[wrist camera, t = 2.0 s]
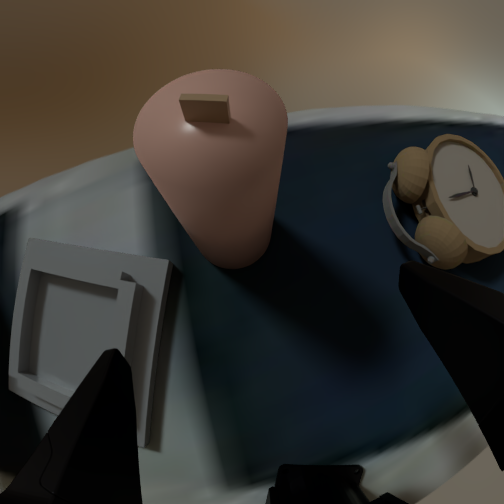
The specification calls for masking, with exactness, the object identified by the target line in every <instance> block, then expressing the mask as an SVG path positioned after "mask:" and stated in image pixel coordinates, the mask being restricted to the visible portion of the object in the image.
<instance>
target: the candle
mask: <svg viewBox="0 0 504 504" xmlns="http://www.w3.org/2000/svg"><path fill="white" fill-rule="evenodd" d="M287 123H288V118H287V112H286V109H285V106H284V103H283V101H282V100H281V98H280V96H279V95H278V94H277V93H276V91H275V90H274V89H273V88H272V87H271V86H270V85H268V84H267V83H265V82H264V81H263V80H261V79H259V78H257V77H255V76H253V75H250V74H247V73H244V72H241V71H235V70H228V69H211V70H203V71H198V72H194V73H191V74H188V75H185V76H182V77H179V78H177V79H176V80H173V81H172V82H170V83H168V84H167V85H165V86H163V87H162V88H161V89H160V90H158V91H157V92H156V93H155V94H154V95H153V96H152V97H151V98H150V99H149V100H148V101H147V103H146V104H145V105H144V106H143V108H142V109H141V111H140V113H139V115H138V117H137V120H136V123H135V126H134V132H133V143H134V149H135V152H136V155H137V157H138V159H139V161H140V162H141V164H142V166H143V167H144V169H145V170H146V172H147V173H148V175H149V176H150V178H151V179H152V181H153V182H154V184H155V185H156V187H157V189H158V190H159V192H160V193H161V195H162V196H163V198H164V199H165V201H166V202H167V204H168V205H169V207H170V208H171V210H172V211H173V212H174V214H175V215H176V217H177V218H178V220H179V221H180V223H181V224H182V226H183V227H184V229H185V230H186V232H187V233H188V235H189V236H190V237H191V239H192V240H193V242H194V243H195V245H196V246H197V248H198V249H199V250H200V252H201V253H202V255H203V256H204V257H205V258H206V259H207V260H208V261H209V262H211V263H212V264H214V265H216V266H218V267H221V268H226V269H239V268H244V267H247V266H249V265H251V264H253V263H254V262H256V261H257V260H258V259H259V258H260V257H261V256H262V255H263V254H264V253H265V251H266V250H267V248H268V245H269V242H270V238H271V232H272V226H273V220H274V213H275V207H276V200H277V194H278V187H279V181H280V174H281V167H282V161H283V154H284V147H285V140H286V133H287Z"/></svg>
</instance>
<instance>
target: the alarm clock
mask: <svg viewBox="0 0 504 504" xmlns="http://www.w3.org/2000/svg"><path fill="white" fill-rule="evenodd" d="M388 167H389V169H391V176H390V180H389V181H388V183H387V185H386V186H385V189H384V192H383V206H384V212H385V215H386V218H387V221H388V223H389V225H390V227H391V229H392V230H393V232H394V233H395V235H396V236H397V237H398V239H399V240H401V241H402V242H403V243H404V244H405V245H406V246H408V247H409V248H411V249H413V250H415V251H417V252H419V254H420V255H421V256H422V258H423V259H424V260H425V261H426V262H427V263H429V264H430V265H432V266H433V267H436V268H438V269H444V270H446V269H453V268H455V267H457V266H458V265H459V264H461V263H466V264H468V263H473V262H477V261H480V260H482V259H484V258H486V257H489V256H491V255H493V254H497V253H500V252H501V251H502V250H503V249H504V179H503V177H502V175H501V174H500V172H499V170H498V169H497V167H496V166H495V164H494V163H493V162H492V161H491V159H490V158H489V157H488V156H487V155H486V153H485V152H483V151H482V150H481V149H480V148H479V147H477V146H476V145H475V144H474V143H473V142H471V141H469V140H467V139H465V138H463V137H461V136H457V135H451V134H445V135H442V136H439V137H436V138H435V139H434V141H433V142H432V143H431V144H430V145H429V146H428V148H427V149H426V150H424V149H422V148H419V147H409V148H406V149H404V150H402V151H401V152H400V153H399V154H398V155H397V157H396V158H395V160H394V163H392V162H391V163H389V164H388ZM391 187H392V188H393V191H394V193H395V195H396V196H397V197H398V198H399V199H400V200H402V201H403V202H406V203H410V204H412V206H413V209H414V213H415V216H416V218H417V219H418V221H419V224H418V226H417V229H416V233H415V240H414V239H413V238H411V237H410V236H409V235H408V234H407V233H406V231H405V230H404V228H403V227H402V225H401V224H400V222H399V220H398V218H397V216H396V214H395V211H394V208H393V205H392V199H391Z"/></svg>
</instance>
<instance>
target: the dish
mask: <svg viewBox="0 0 504 504" xmlns="http://www.w3.org/2000/svg"><path fill="white" fill-rule="evenodd" d="M172 267H173V263H172V262H170V261H169V260H165V259H158V258H151V257H145V256H138V255H132V254H125V253H119V252H112V251H106V250H100V249H94V248H88V247H81V246H75V245H69V244H63V243H57V242H51V241H46V240H40V239H34V238H29V239H28V243H27V247H26V251H25V255H24V259H23V263H22V268H21V273H20V278H19V283H18V288H17V294H16V300H15V307H14V314H13V322H12V331H11V342H10V356H9V390H11V391H12V392H14V393H16V394H18V395H19V396H21V397H23V398H25V399H27V400H29V401H30V402H32V403H34V404H36V405H38V406H40V407H42V408H44V409H46V410H48V411H50V412H52V413H54V414H56V415H59V414H60V412H61V411H62V409H63V408H64V406H65V405H66V403H67V402H68V401H69V399H70V398H71V396H72V395H73V393H74V392H75V391H76V389H77V388H78V386H79V385H80V383H81V382H82V381H83V379H84V378H85V376H86V375H87V374H88V372H89V371H90V369H91V368H92V367H93V365H94V364H95V363H96V361H97V360H98V358H99V357H100V356H101V354H102V353H103V352H104V351H105V350H107V349H112V348H117V349H118V350H119V351H120V352H121V354H122V355H123V356H124V358H125V359H126V360H127V362H128V363H129V365H130V367H131V370H132V380H133V389H134V398H135V406H136V417H137V444H138V446H140V447H145V446H146V445H147V444H148V443H149V441H150V428H151V416H152V406H153V396H154V387H155V378H156V370H157V362H158V354H159V347H160V340H161V333H162V326H163V320H164V313H165V307H166V301H167V295H168V289H169V284H170V278H171V273H172Z"/></svg>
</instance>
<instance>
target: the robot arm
mask: <svg viewBox="0 0 504 504" xmlns="http://www.w3.org/2000/svg"><path fill="white" fill-rule="evenodd" d="M399 290H400V292H401V294H402V296H403V298H404V300H405V301H406V303H407V305H408V307H409V309H410V310H411V312H412V314H413V316H414V318H415V320H416V322H417V323H418V325H419V327H420V329H421V330H422V332H423V333H424V335H425V336H426V338H427V339H428V341H429V342H430V344H431V346H432V347H433V349H434V350H435V352H436V353H437V355H438V356H439V358H440V360H441V361H442V363H443V364H444V366H445V368H446V369H447V371H448V372H449V374H450V376H451V377H452V379H453V381H454V382H455V384H456V386H457V387H458V389H459V391H460V393H461V394H462V396H463V398H464V400H465V401H466V403H467V405H468V407H469V408H470V410H471V412H472V414H473V416H474V417H475V419H476V421H477V423H478V424H479V427H480V429H481V431H482V433H483V435H484V437H485V439H486V441H487V443H488V445H489V447H490V449H491V451H492V453H493V455H494V457H495V459H496V461H497V463H498V465H499V468H500V469H501V471H503V470H504V294H503V293H501V292H499V291H496V290H493V289H491V288H488V287H485V286H483V285H480V284H477V283H475V282H472V281H469V280H467V279H464V278H461V277H458V276H456V275H453V274H450V273H447V272H444V271H442V270H439V269H436V268H433V267H430V266H427V265H424V264H421V263H419V262H416V261H408V262H406V263H403V264H402V265H401V266H400V274H399ZM284 469H288V471H287V472H282V471H283V470H284ZM357 469H358V471H357V472H355V473H354V471H355V470H357ZM362 473H363V469H362V467H361V466H360V465H293V464H283V465H281V466H280V467H279V469H278V473H277V478H276V482H275V487H271V488H269V490H268V495H267V499H266V504H408V503H406V502H405V501H403V500H401V499H399V498H397V497H395V496H393V495H392V494H390V493H388V492H387V493H385V494H383V495H381V496H380V497H379V498H377V499H375V500H373V501H371V502H370V501H369V500H368V499H367V497H366V496H365V494H364V493H363V491H362V490H361V489H360V487H359V483H360V480H361V476H362ZM0 504H142V495H141V486H140V474H139V461H138V444H137V417H136V406H135V398H134V389H133V380H132V370H131V367H130V365H129V363H128V362H127V360H126V359H125V358H124V356H123V355H122V354H121V352H120V351H119V350H118V349H117V348H112V349H107V350H105V351H104V352H103V353H102V354H101V356H100V357H99V358H98V360H97V361H96V363H95V364H94V365H93V367H92V368H91V369H90V371H89V372H88V374H87V375H86V376H85V378H84V379H83V381H82V382H81V383H80V385H79V386H78V388H77V389H76V391H75V392H74V393H73V395H72V396H71V398H70V399H69V401H68V402H67V403H66V405H65V406H64V408H63V409H62V411H61V412H60V414H59V415H58V417H57V418H56V420H55V421H54V423H53V424H52V426H51V427H50V429H49V430H48V433H46V435H45V436H44V438H43V439H42V441H41V442H40V444H39V445H38V447H37V448H36V450H35V451H34V453H33V454H32V455H31V457H30V458H29V460H28V461H27V462H26V464H25V465H24V466H23V468H22V469H21V470H20V472H19V473H18V474H17V476H16V477H15V478H14V480H13V481H12V482H11V484H10V485H9V486H8V488H7V489H6V490H5V491H3V492H2V493H1V494H0Z"/></svg>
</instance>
